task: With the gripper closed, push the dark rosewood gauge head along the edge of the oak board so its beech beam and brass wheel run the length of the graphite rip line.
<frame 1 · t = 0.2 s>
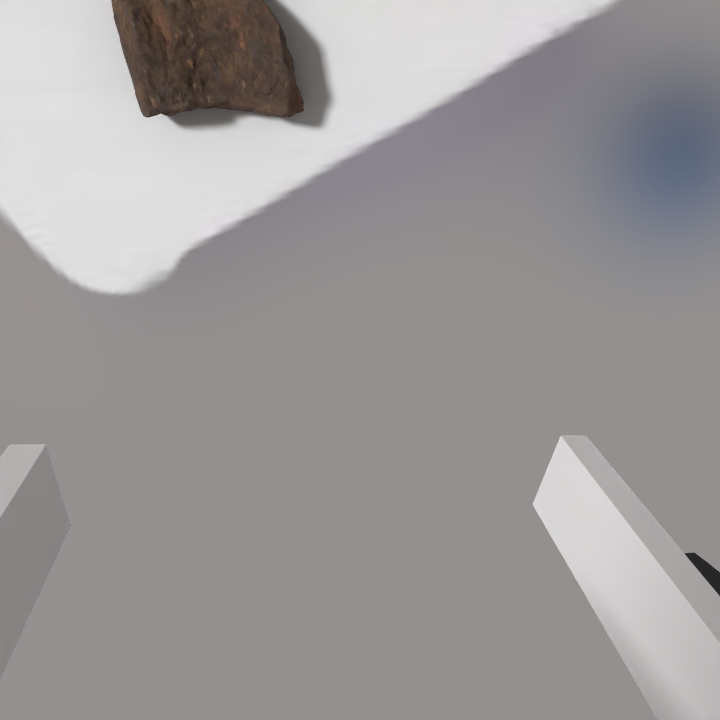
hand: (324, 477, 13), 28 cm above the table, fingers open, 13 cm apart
rock: (197, 32, 30), on the table
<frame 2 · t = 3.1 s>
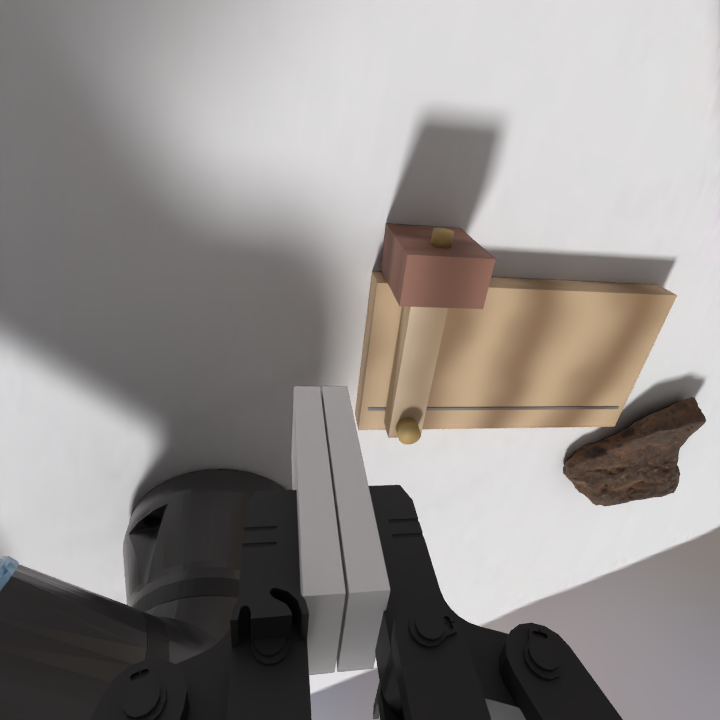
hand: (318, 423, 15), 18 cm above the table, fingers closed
rock: (619, 447, 45), on the table
board: (501, 351, 37), on the table
gauge: (418, 340, 31), point 3 cm above the table, slide at 0.0 cm
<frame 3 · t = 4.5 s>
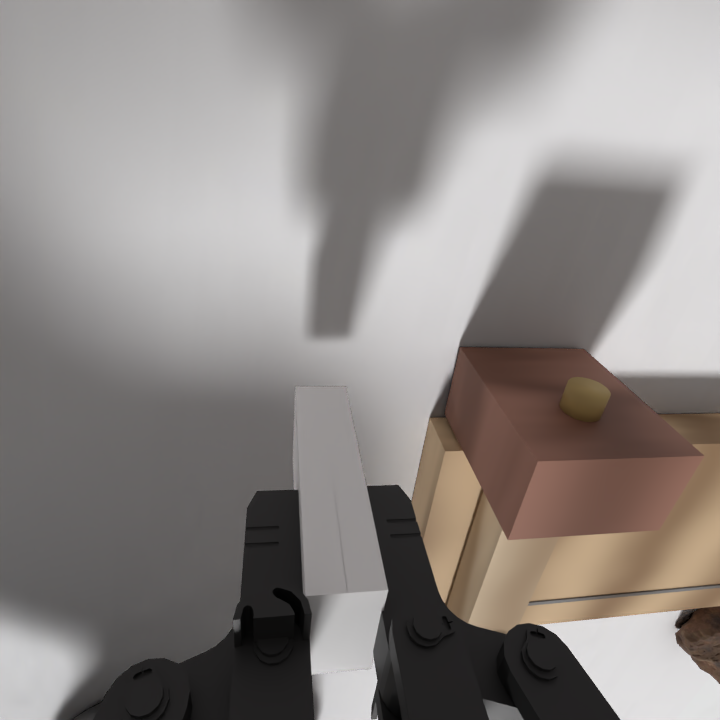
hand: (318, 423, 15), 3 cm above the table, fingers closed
board: (618, 509, 24), on the table
gauge: (510, 536, 18), point 3 cm above the table, slide at 0.0 cm
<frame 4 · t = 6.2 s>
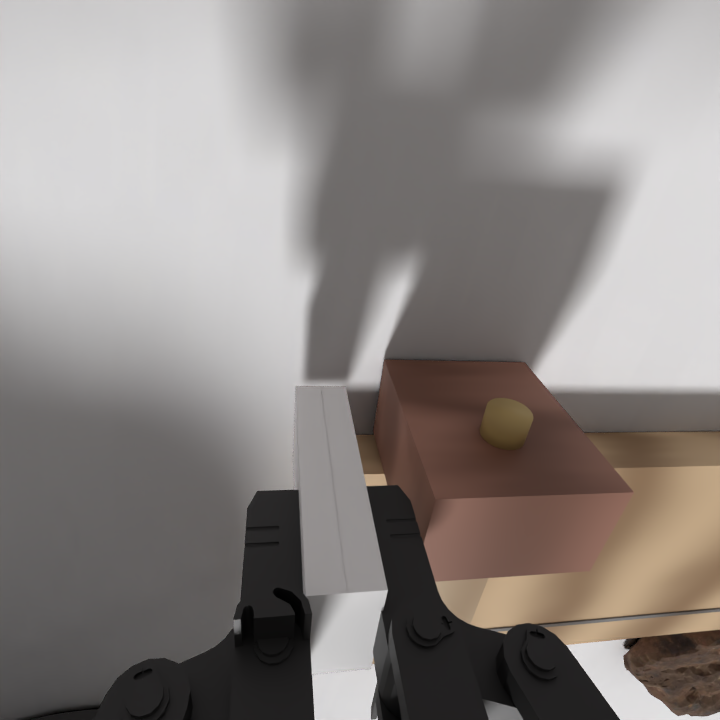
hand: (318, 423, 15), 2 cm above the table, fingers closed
rock: (707, 617, 30), on the table
board: (551, 533, 22), on the table
gauge: (442, 566, 17), point 3 cm above the table, slide at 1.2 cm, touching gripper
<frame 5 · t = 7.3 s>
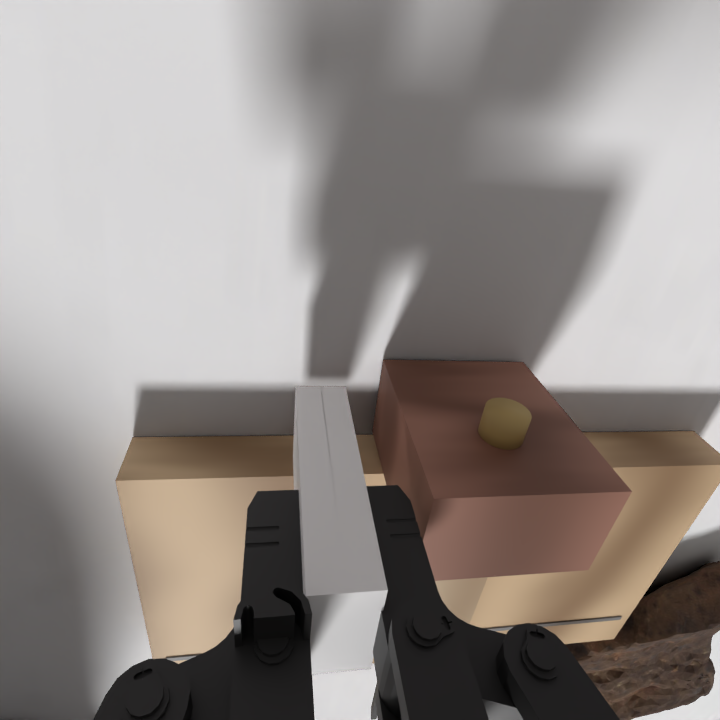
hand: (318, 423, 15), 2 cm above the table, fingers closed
rock: (614, 620, 29), on the table
board: (417, 539, 21), on the table
gauge: (442, 566, 17), point 3 cm above the table, slide at 7.7 cm, touching gripper
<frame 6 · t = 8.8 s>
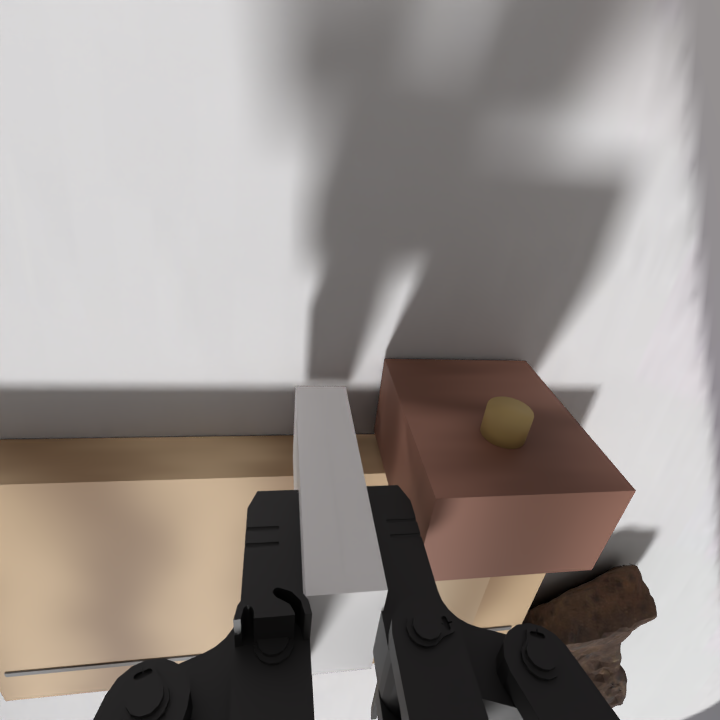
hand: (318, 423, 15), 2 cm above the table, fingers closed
rock: (527, 627, 27), on the table
board: (283, 546, 20), on the table
gauge: (444, 565, 17), point 3 cm above the table, slide at 13.6 cm, touching gripper
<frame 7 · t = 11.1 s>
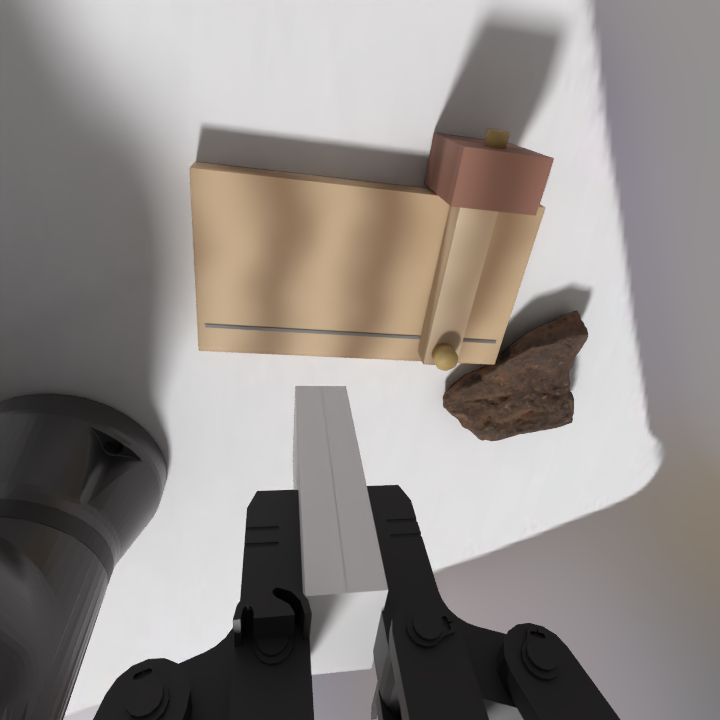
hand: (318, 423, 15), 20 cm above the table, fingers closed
rock: (509, 377, 41), on the table
board: (362, 270, 33), on the table
gauge: (461, 258, 30), point 3 cm above the table, slide at 13.7 cm
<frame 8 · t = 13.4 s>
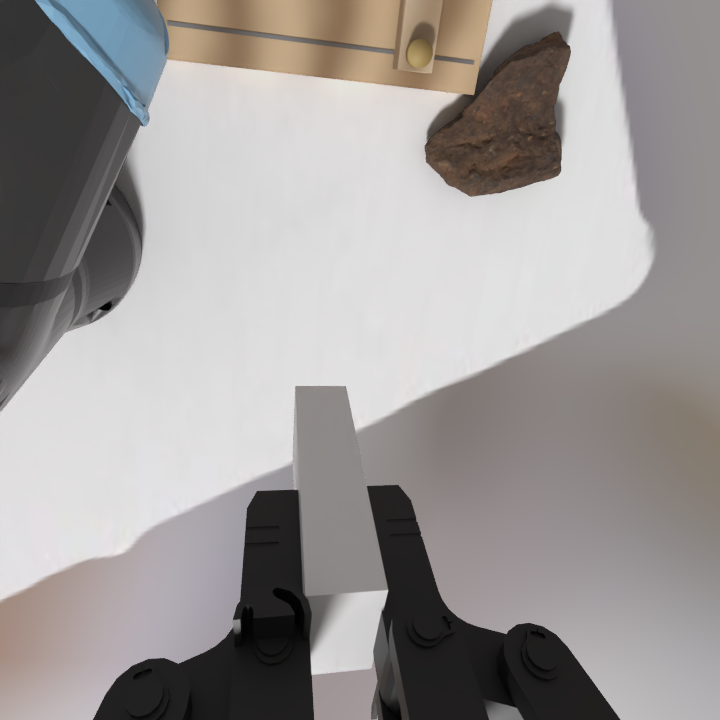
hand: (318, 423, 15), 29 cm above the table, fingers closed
rock: (494, 133, 39), on the table
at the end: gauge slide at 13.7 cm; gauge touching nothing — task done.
